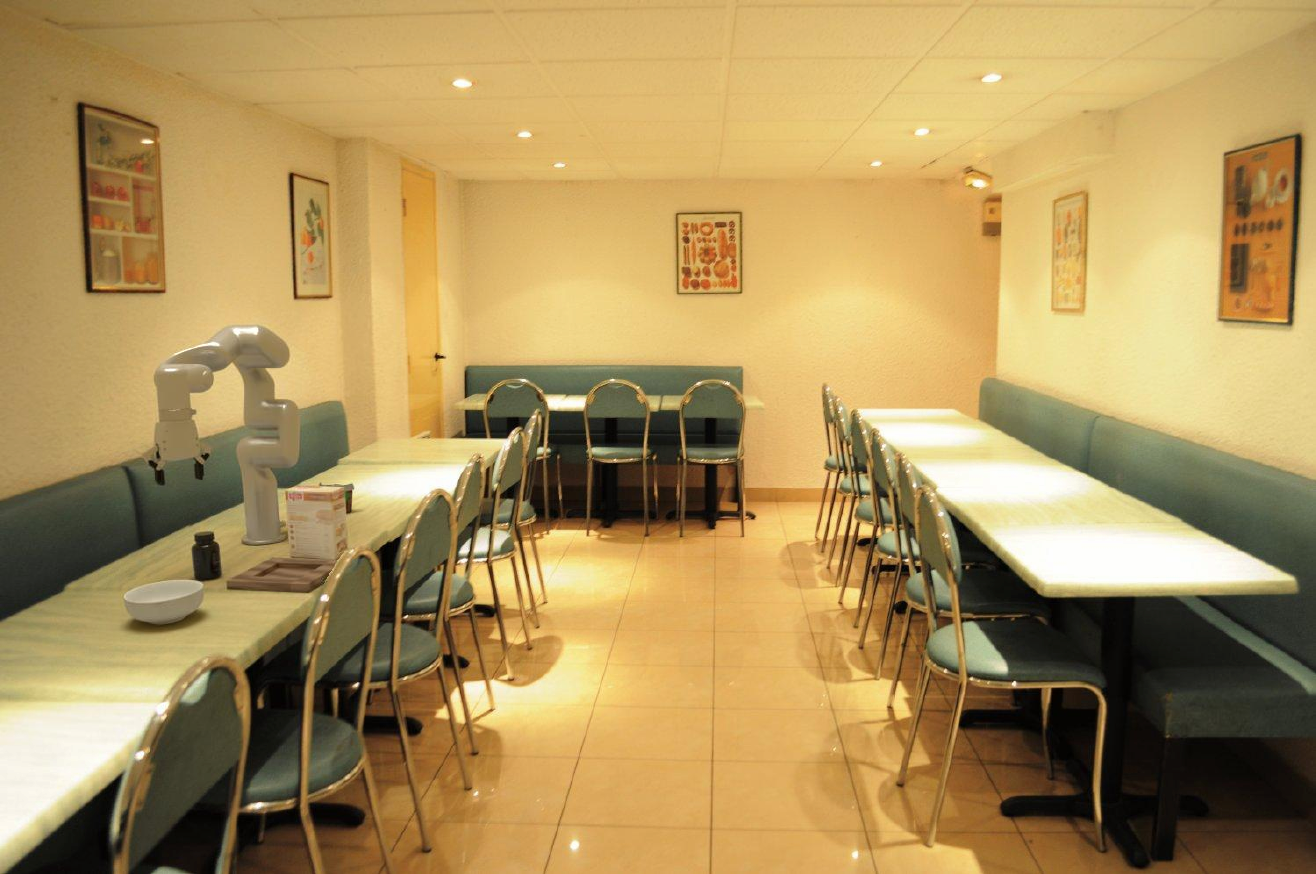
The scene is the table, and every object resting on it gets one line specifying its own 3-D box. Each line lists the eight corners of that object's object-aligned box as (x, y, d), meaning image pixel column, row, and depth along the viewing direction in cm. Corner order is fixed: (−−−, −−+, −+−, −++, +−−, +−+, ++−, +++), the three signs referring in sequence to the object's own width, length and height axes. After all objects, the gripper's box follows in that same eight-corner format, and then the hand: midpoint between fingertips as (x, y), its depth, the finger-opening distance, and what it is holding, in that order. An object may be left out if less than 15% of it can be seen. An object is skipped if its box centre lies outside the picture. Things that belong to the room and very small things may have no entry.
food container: (312, 515, 341) (310, 485, 340) (321, 511, 347) (319, 482, 346) (347, 516, 339) (345, 486, 338) (355, 512, 345) (354, 483, 344)
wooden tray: (272, 565, 283) (272, 557, 282) (348, 568, 279) (347, 560, 279) (227, 589, 261) (226, 580, 261) (308, 592, 258) (307, 584, 257)
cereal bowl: (150, 607, 248) (147, 579, 247) (218, 607, 247) (216, 578, 246) (111, 631, 231) (108, 601, 230) (184, 631, 230) (181, 601, 229)
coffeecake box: (349, 553, 294) (345, 486, 291) (335, 560, 287) (331, 491, 284) (303, 550, 298) (299, 484, 295) (288, 557, 291) (284, 489, 288)
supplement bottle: (216, 572, 277) (212, 528, 275) (226, 577, 272) (222, 533, 270) (189, 577, 272) (186, 533, 270) (199, 582, 267) (196, 537, 265)
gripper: (202, 411, 271) (207, 475, 273) (133, 418, 258) (139, 485, 261) (215, 413, 266) (220, 478, 268) (146, 420, 253) (151, 489, 256)
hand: (180, 482), depth 264 cm, fingers open, 9 cm apart
